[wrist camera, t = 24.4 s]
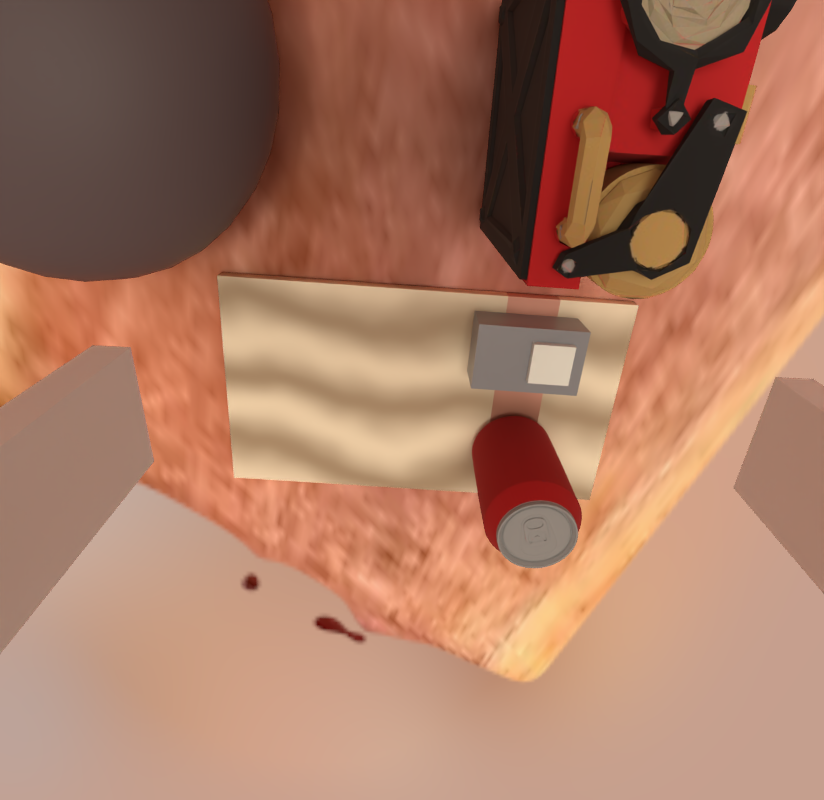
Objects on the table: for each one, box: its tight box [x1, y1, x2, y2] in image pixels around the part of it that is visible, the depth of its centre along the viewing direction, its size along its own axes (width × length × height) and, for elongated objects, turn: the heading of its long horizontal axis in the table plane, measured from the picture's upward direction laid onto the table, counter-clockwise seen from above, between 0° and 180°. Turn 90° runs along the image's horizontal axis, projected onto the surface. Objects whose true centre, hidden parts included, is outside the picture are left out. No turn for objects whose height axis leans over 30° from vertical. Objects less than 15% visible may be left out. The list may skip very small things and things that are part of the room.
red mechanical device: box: [480, 0, 797, 299], centre depth 28 cm, size 16×10×20 cm, turn 177°
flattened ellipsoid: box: [0, 0, 280, 282], centre depth 29 cm, size 25×25×15 cm
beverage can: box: [472, 416, 582, 568], centre depth 41 cm, size 7×7×12 cm
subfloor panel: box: [217, 272, 639, 500], centre depth 45 cm, size 18×32×1 cm, turn 86°
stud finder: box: [467, 311, 591, 396], centre depth 41 cm, size 5×8×4 cm, turn 86°
